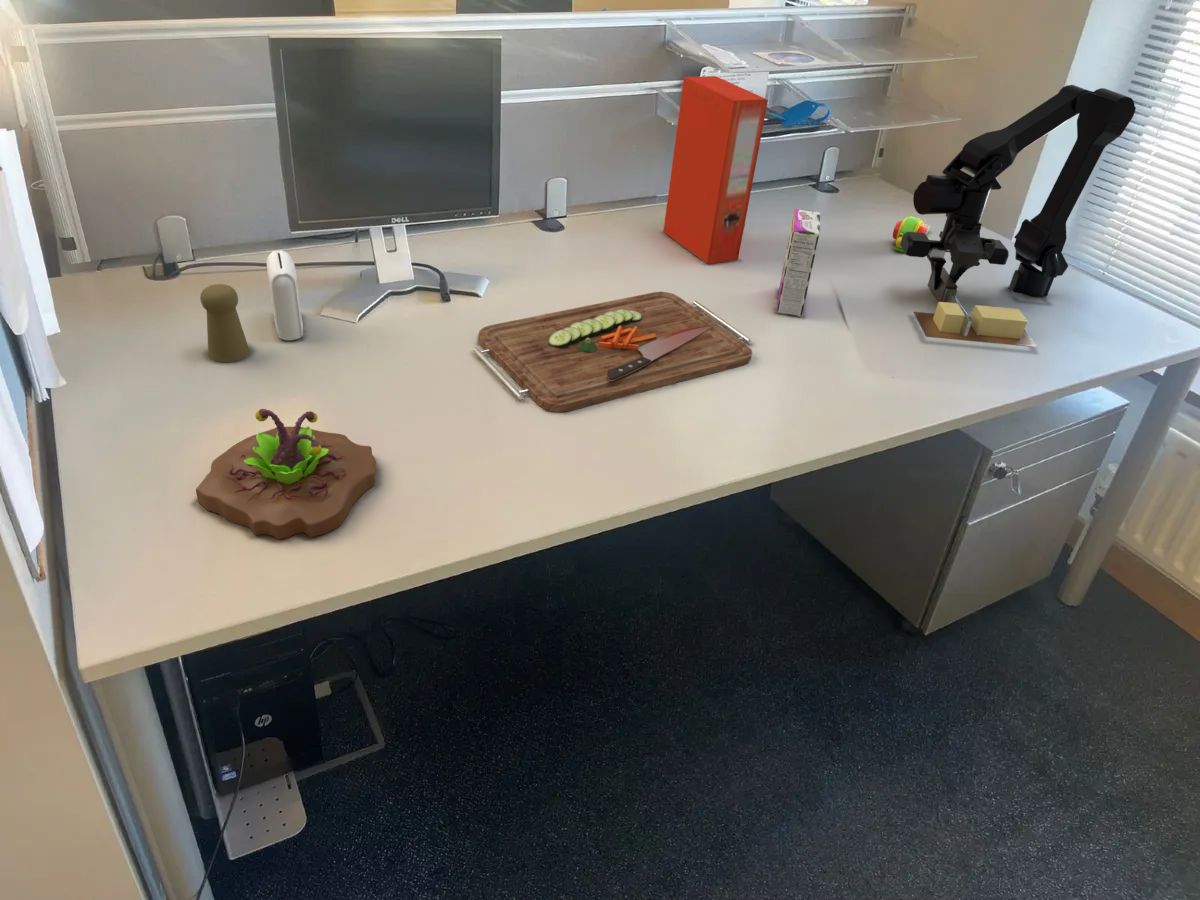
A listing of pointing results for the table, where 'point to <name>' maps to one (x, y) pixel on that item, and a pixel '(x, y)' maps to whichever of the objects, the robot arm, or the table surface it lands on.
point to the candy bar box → (798, 262)
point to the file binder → (713, 167)
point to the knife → (949, 296)
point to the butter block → (998, 322)
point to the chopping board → (610, 349)
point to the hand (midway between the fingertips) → (940, 289)
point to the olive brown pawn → (223, 324)
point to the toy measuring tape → (908, 229)
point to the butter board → (933, 331)
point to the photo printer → (284, 295)
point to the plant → (288, 479)
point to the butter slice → (948, 317)
